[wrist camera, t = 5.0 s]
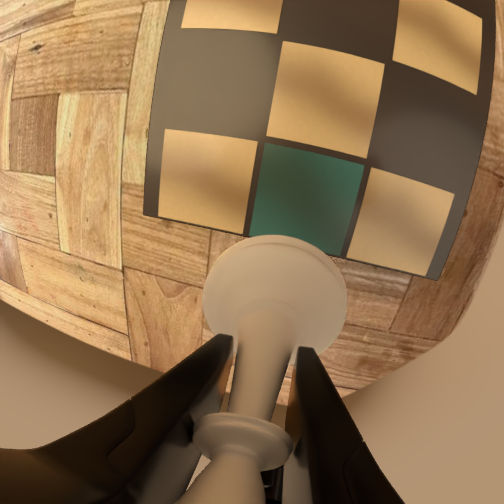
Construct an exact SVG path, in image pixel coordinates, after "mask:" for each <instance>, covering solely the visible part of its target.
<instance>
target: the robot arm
mask: <svg viewBox="0 0 504 504" xmlns="http://www.w3.org/2000/svg"><path fill="white" fill-rule="evenodd" d="M233 344H234V338H233V336H232V335H227V334H222V333H219V334H217V335H216V336H214V337H213V338H212V339H210V340H209V341H208V342H206V343H205V344H204V345H202V346H201V347H200V348H198V349H197V350H196V351H194V352H193V353H192V354H190V355H189V356H188V357H186V358H185V359H184V360H182V361H181V362H180V363H178V364H177V365H176V366H174V367H173V368H171V369H170V370H169V371H167V372H166V373H165V374H164V375H162V376H161V377H159V378H158V379H156V380H155V381H154V382H152V383H151V384H149V385H148V386H147V387H145V388H144V389H142V390H141V391H140V392H138V393H137V394H135V395H134V396H133V397H131V400H130V399H128V400H127V401H125V402H124V403H123V404H121V405H120V406H118V407H117V408H115V409H114V410H112V411H110V412H109V413H107V414H106V415H104V416H103V417H101V418H99V419H97V420H95V421H93V422H92V423H90V424H88V425H86V426H84V427H82V428H80V429H78V430H76V431H74V432H72V433H70V434H68V435H66V436H64V437H62V438H60V439H58V440H56V441H54V442H52V443H49V444H47V445H45V446H42V447H39V448H34V449H25V450H23V449H22V450H21V449H20V450H19V449H3V448H0V504H174V503H175V502H176V501H178V500H179V499H180V498H181V496H182V495H183V494H184V493H185V492H186V489H187V487H188V485H189V482H190V480H191V478H192V476H193V473H194V471H195V469H196V466H197V464H198V462H199V459H200V457H201V455H202V453H200V452H199V451H198V450H197V448H196V447H195V445H194V443H193V440H192V437H193V434H194V433H193V426H194V423H195V422H196V421H197V420H198V419H199V418H201V417H203V416H205V415H208V414H213V413H219V411H220V408H221V405H222V401H223V397H224V394H225V390H226V386H227V382H228V378H229V374H230V370H231V366H232V361H233ZM285 431H286V432H287V433H288V434H289V435H290V437H291V438H292V440H293V444H294V448H293V451H292V453H291V454H290V455H289V459H288V460H287V462H286V463H285V464H283V465H282V466H280V467H278V468H275V469H271V470H267V471H261V472H260V474H261V477H262V482H263V486H264V490H265V497H266V504H405V503H404V501H403V500H402V499H401V498H400V496H399V495H398V493H397V492H396V491H395V489H394V488H393V487H392V485H391V484H390V482H389V481H388V480H387V478H386V477H385V475H384V474H383V472H382V471H381V469H380V468H379V466H378V464H377V463H376V461H375V459H374V458H373V456H372V454H371V452H370V451H369V449H368V447H367V445H366V443H365V442H364V441H363V438H362V436H361V434H360V432H359V430H358V428H357V427H356V425H355V423H354V421H353V419H352V417H351V416H350V414H349V412H348V410H347V408H346V406H345V404H344V403H343V401H342V399H341V397H340V395H339V393H338V392H337V390H336V388H335V386H334V384H333V382H332V381H331V379H330V377H329V375H328V373H327V371H326V370H325V368H324V366H323V364H322V362H321V360H320V359H319V357H318V355H317V353H316V351H315V350H314V348H312V347H305V346H299V347H298V349H297V354H296V358H295V363H294V367H293V373H292V380H291V387H290V393H289V400H288V406H287V412H286V420H285ZM362 441H363V442H362Z"/></svg>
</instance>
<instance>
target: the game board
mask: <svg viewBox="0 0 504 504" xmlns="http://www.w3.org/2000/svg"><path fill="white" fill-rule="evenodd" d="M495 39H496V13H495V0H170V4H169V9H168V13H167V18H166V22H165V27H164V32H163V37H162V42H161V47H160V53H159V58H158V64H157V70H156V77H155V83H154V90H153V98H152V105H151V114H150V122H149V132H148V142H147V154H146V167H145V183H144V204H143V215H146V216H150V217H155V218H160V219H165V220H170V221H174V222H179V223H184V224H188V225H193V226H198V227H202V228H207V229H212V230H216V231H221V232H226V233H230V234H235V235H239V236H244V237H249V238H251V237H255V236H261V235H283V236H289V237H293V238H297V239H300V240H303V241H305V242H307V243H309V244H311V245H313V246H315V247H317V248H318V249H320V250H321V251H322V252H324V253H325V254H326V255H329V256H333V257H338V258H342V259H346V260H351V261H355V262H359V263H364V264H368V265H372V266H376V267H381V268H385V269H389V270H393V271H398V272H402V273H406V274H410V275H414V276H419V277H423V278H427V279H431V280H435V281H438V279H439V277H440V275H441V272H442V270H443V268H444V265H445V263H446V260H447V258H448V256H449V253H450V250H451V248H452V245H453V243H454V240H455V237H456V235H457V232H458V229H459V226H460V223H461V220H462V217H463V214H464V211H465V208H466V205H467V202H468V199H469V195H470V192H471V188H472V185H473V181H474V178H475V174H476V170H477V166H478V162H479V158H480V154H481V149H482V145H483V140H484V135H485V130H486V125H487V119H488V113H489V106H490V100H491V92H492V83H493V73H494V61H495Z"/></svg>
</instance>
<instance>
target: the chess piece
mask: <svg viewBox="0 0 504 504" xmlns="http://www.w3.org/2000/svg"><path fill="white" fill-rule="evenodd" d="M347 302H348V297H347V289H346V285H345V281H344V279H343V276H342V274H341V272H340V271H339V269H338V268H337V266H336V265H335V263H334V262H333V261H332V260H331V259H330V258H329V257H328V256H327V255H326V254H325V253H324V252H322V251H321V250H320V249H318V248H317V247H315V246H313V245H311V244H309V243H307V242H305V241H303V240H300V239H297V238H293V237H289V236H283V235H261V236H255V237H251V238H247V239H244V240H242V241H240V242H237V243H235V244H234V245H232V246H230V247H229V248H228V249H226V250H225V251H224V252H223V253H222V254H221V255H220V256H219V257H218V258H217V259H216V260H215V262H214V263H213V265H212V267H211V268H210V270H209V273H208V275H207V279H206V282H205V285H204V288H203V294H202V306H203V312H204V316H205V319H206V322H207V324H208V326H209V328H210V329H211V331H212V332H213V334H214V335H215V336H216V335H217V334H219V333H222V334H227V335H232V336H233V338H234V344H233V353H235V354H236V360H235V368H234V374H233V381H232V388H231V393H230V398H229V403H228V409H227V412H223V413H213V414H208V415H205V416H203V417H201V418H199V419H198V420H197V421H196V422H195V423H194V426H193V433H194V434H193V437H192V440H193V443H194V445H195V447H196V448H197V450H198V451H199V452H200V453H202V454H203V455H204V456H206V457H207V458H209V459H210V460H211V462H210V463H209V464H208V465H207V466H206V467H205V469H204V470H203V471H202V472H201V473H200V474H199V475H198V476H197V477H196V478H195V480H194V482H193V483H192V484H191V486H190V487H189V489H188V490H187V491H186V492H185V493H184V494H183V495H182V496H181V498H180V499H179V500H178V501H176V502H175V503H174V504H266V497H265V490H264V486H263V482H262V477H261V474H260V472H261V471H267V470H271V469H275V468H278V467H280V466H282V465H283V464H285V463H286V462H287V460H288V459H289V455H290V454H291V453H292V451H293V448H294V444H293V440H292V438H291V437H290V435H289V434H288V433H287V432H286V431H284V430H283V429H282V428H280V427H279V426H277V425H275V424H273V423H271V422H270V421H271V417H272V414H273V411H274V408H275V405H276V401H277V398H278V395H279V392H280V389H281V385H282V382H283V379H284V376H285V373H286V370H287V367H288V365H293V364H294V363H295V358H296V354H297V349H298V347H299V346H305V347H312V348H314V350H315V351H316V353H317V355H320V354H321V353H323V352H324V351H325V350H326V349H328V348H329V347H330V346H331V345H332V344H333V343H334V341H335V340H336V339H337V337H338V336H339V334H340V332H341V330H342V328H343V326H344V323H345V319H346V311H347Z"/></svg>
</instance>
